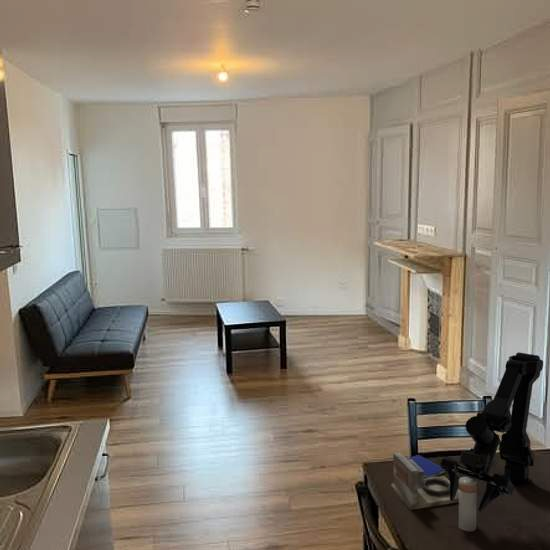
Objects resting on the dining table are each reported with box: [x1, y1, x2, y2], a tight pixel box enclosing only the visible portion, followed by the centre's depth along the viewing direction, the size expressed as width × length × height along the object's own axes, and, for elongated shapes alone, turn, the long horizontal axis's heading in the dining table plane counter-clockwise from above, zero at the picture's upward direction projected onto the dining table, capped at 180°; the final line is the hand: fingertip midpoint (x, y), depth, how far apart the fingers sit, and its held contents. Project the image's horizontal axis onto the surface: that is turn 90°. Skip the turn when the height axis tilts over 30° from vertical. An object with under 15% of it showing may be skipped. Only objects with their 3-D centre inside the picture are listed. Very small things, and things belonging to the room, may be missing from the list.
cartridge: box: [458, 476, 478, 532], centre depth 150 cm, size 5×5×13 cm
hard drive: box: [406, 454, 446, 478], centre depth 184 cm, size 2×8×12 cm
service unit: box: [391, 452, 459, 511], centre depth 167 cm, size 18×13×11 cm
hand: (465, 505), depth 149 cm, fingers open, 8 cm apart
